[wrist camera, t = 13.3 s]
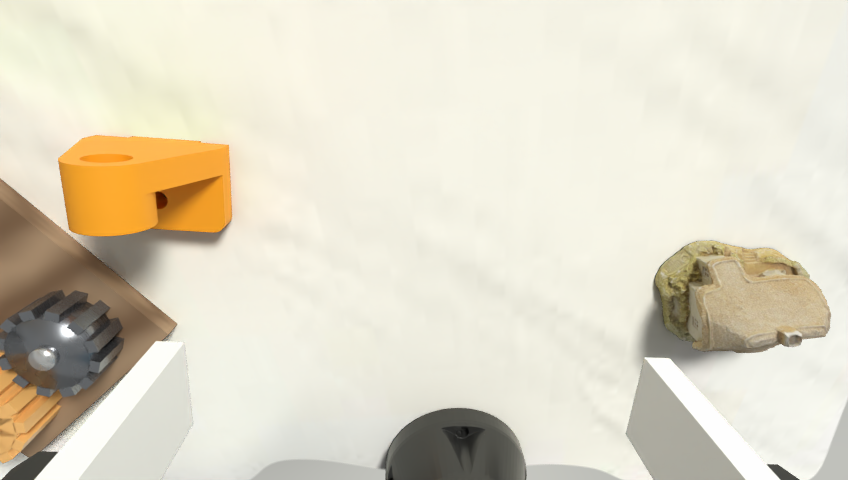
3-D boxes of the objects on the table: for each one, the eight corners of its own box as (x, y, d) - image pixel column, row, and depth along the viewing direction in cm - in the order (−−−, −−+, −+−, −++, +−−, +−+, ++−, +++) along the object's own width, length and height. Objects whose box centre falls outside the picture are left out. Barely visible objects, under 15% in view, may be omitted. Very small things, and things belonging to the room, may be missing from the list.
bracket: (111, 215, 45) (14, 267, 33) (101, 133, 42) (-8, 159, 31) (235, 223, 45) (180, 276, 34) (231, 143, 43) (171, 171, 32)
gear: (143, 333, 46) (115, 363, 42) (86, 386, 48) (53, 420, 43) (65, 271, 44) (27, 295, 39) (8, 329, 46) (-35, 358, 41)
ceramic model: (650, 345, 52) (705, 408, 42) (655, 244, 48) (717, 288, 39) (784, 329, 52) (870, 388, 42) (800, 227, 48) (898, 267, 39)
